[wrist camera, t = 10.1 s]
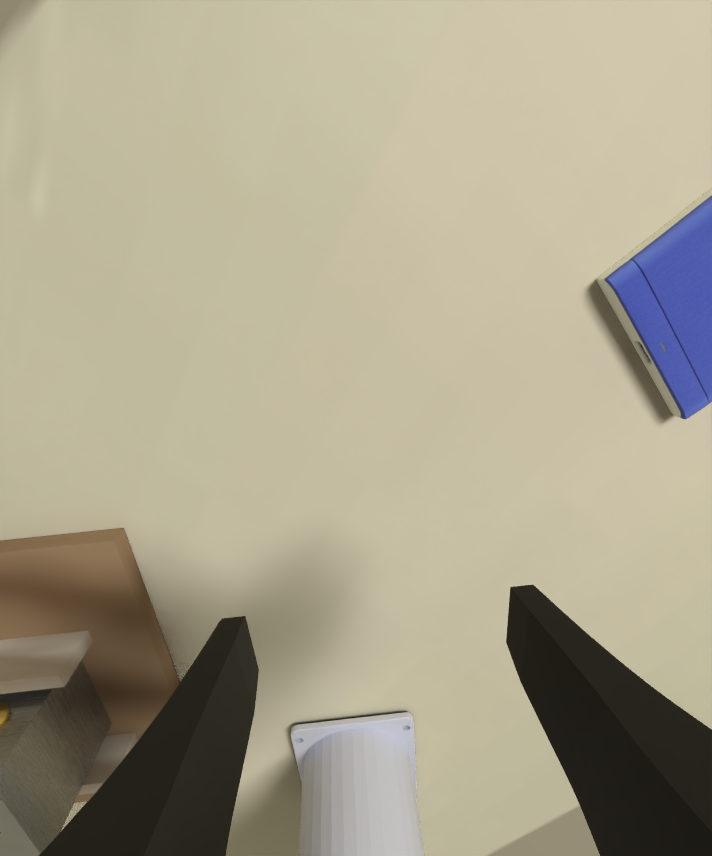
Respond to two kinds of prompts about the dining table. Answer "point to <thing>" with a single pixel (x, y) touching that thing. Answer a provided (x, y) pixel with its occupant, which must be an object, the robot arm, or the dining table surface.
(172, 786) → the robot arm
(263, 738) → the dining table surface
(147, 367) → the dining table surface
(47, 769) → the block
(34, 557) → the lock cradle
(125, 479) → the dining table surface
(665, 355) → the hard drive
